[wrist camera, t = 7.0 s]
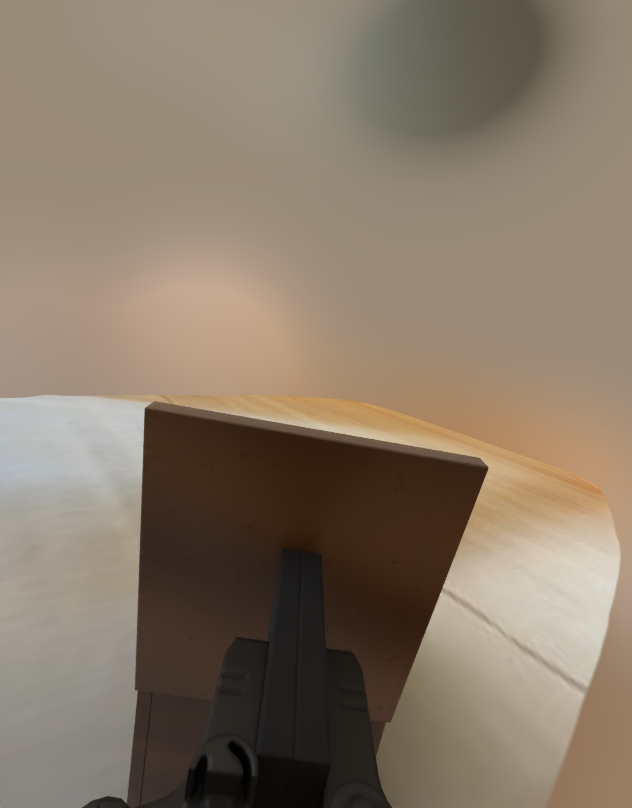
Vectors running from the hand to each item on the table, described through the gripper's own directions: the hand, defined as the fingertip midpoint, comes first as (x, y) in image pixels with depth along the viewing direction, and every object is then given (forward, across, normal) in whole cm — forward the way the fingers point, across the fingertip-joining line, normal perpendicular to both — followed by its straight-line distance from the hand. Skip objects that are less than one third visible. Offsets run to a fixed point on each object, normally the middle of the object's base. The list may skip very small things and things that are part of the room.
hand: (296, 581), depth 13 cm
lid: (+2, 0, -1) cm, 2 cm away
